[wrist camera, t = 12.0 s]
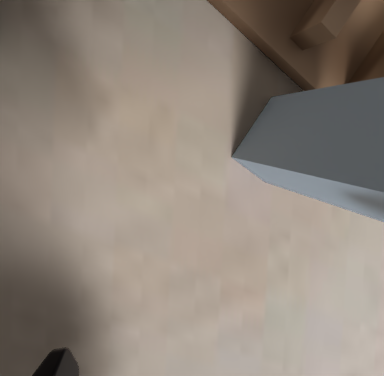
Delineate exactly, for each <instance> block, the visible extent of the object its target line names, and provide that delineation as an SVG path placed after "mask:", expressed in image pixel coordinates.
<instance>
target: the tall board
mask: <svg viewBox="0 0 384 376" xmlns="http://www.w3.org/2000/svg"><path fill="white" fill-rule="evenodd" d="M232 158H233V159H234V160H236V161H237V162H239V163H240V164H241V165H243V166H244V167H245V168H247V169H248V170H249V171H251V172H252V173H253V174H255V175H256V176H257V177H259V178H260V179H261V180H263V181H264V182H266V183H269V184H272V185H275V186H278V187H281V188H284V189H287V190H290V191H293V192H296V193H299V194H302V195H305V196H308V197H311V198H314V199H317V200H319V201H322V202H325V203H328V204H331V205H334V206H337V207H340V208H343V209H346V210H349V211H352V212H355V213H358V214H361V215H364V216H367V217H370V218H373V219H376V220H379V221H382V222H384V77H382V78H376V79H370V80H365V81H359V82H353V83H348V84H342V85H336V86H331V87H325V88H319V89H314V90H308V91H302V92H297V93H291V94H285V95H280V96H274V97H271V99H270V100H269V102H268V103H267V105H266V106H265V108H264V109H263V111H262V112H261V114H260V115H259V117H258V118H257V120H256V121H255V122H254V124H253V125H252V127H251V128H250V130H249V131H248V133H247V134H246V136H245V137H244V139H243V140H242V142H241V143H240V145H239V146H238V148H237V149H236V151H235V152H234V154H233V155H232Z"/></svg>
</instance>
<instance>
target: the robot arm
mask: <svg viewBox="0 0 384 376" xmlns="http://www.w3.org/2000/svg"><path fill="white" fill-rule="evenodd" d="M32 376H79V366H78V363H77V361H76V360H75V358H74V356H73V355H72V353H71V351H70V350H69V349H68V348H66V347H65V348H59V349H54V350H52V351H51V352H50V353H49V354H48V356H47V357H46V358H45V359H44V361H43V362H42V363H41V365H40V366H39V367H38V369H37V370H36V371H35V372H34V374H33V375H32Z"/></svg>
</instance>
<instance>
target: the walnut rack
mask: <svg viewBox="0 0 384 376" xmlns="http://www.w3.org/2000/svg"><path fill="white" fill-rule="evenodd" d="M207 1H208V2H209V3H210V4H212V5H213V6H214V7H215V8H216V9H217V10H218V11H219V12H220V13H221V14H222V15H223V16H224V17H225V18H227V19H228V20H229V21H230V22H231V23H232V24H233V25H234V26H235V27H236V28H237V29H238V30H239V31H241V32H242V33H243V34H244V35H245V36H246V37H247V38H248V39H249V40H250V41H251V42H252V43H253V44H254V45H256V46H257V47H258V48H259V49H260V50H261V51H262V52H263V53H264V54H265V55H266V56H267V57H268V58H270V59H271V60H272V61H273V62H274V63H275V64H276V65H277V66H278V67H279V68H280V69H281V70H282V71H283V72H285V73H286V74H287V75H288V76H289V77H290V78H291V79H292V80H293V81H294V82H295V83H296V84H297V85H298V86H300V87H301V88H302V89H303V90H304V91H308V90H314V89H319V88H325V87H331V86H336V85H342V84H348V83H353V82H359V81H365V80H370V79H376V78H382V77H384V0H207Z"/></svg>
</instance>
